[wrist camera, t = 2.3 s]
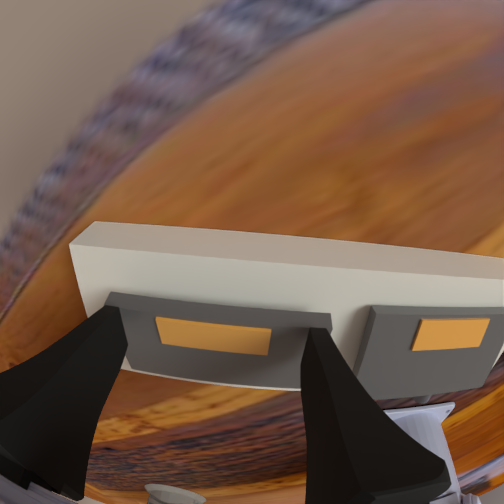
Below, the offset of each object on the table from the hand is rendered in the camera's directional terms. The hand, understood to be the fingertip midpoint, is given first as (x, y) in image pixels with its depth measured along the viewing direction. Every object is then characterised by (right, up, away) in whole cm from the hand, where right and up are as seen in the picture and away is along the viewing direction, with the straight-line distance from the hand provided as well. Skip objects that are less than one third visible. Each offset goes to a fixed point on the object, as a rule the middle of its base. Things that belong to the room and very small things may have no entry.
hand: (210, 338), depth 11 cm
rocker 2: (+11, -2, +2) cm, 11 cm away
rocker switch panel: (+6, -1, +6) cm, 8 cm away
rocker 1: (0, -1, +2) cm, 2 cm away
